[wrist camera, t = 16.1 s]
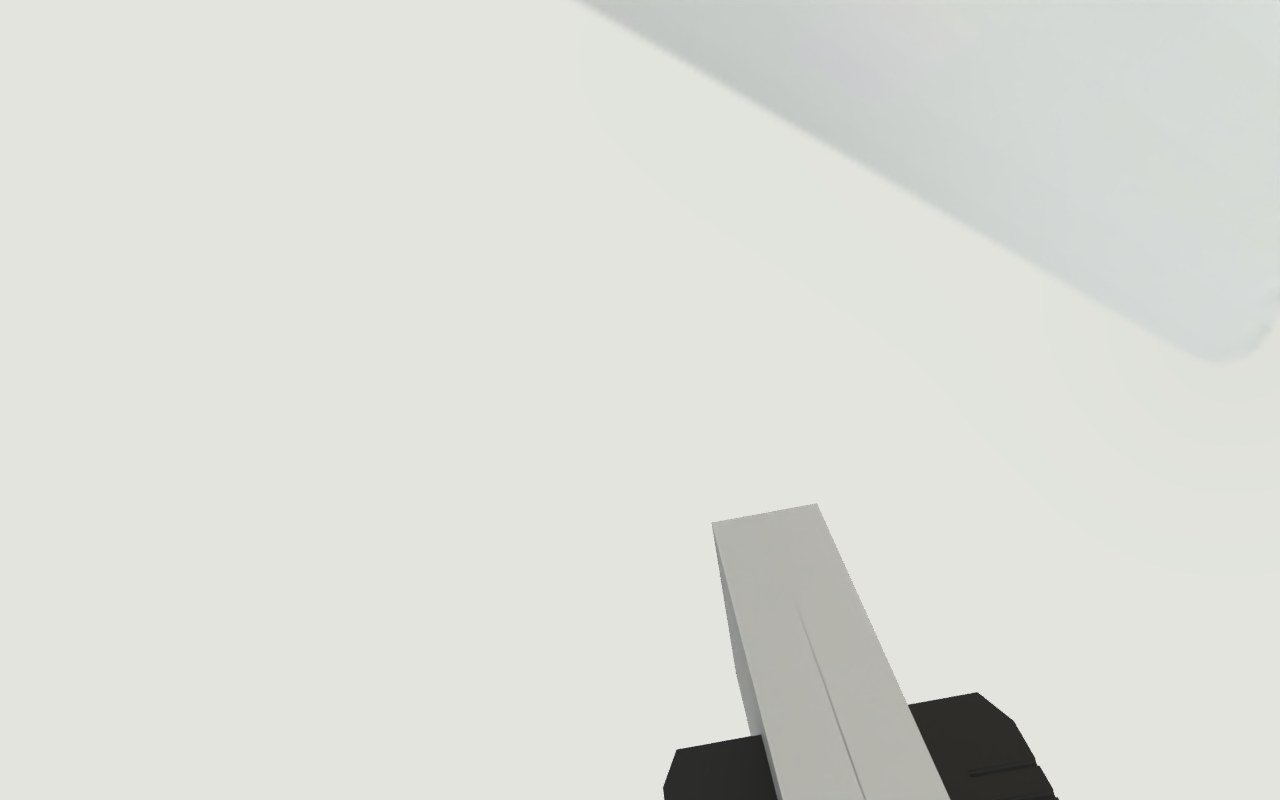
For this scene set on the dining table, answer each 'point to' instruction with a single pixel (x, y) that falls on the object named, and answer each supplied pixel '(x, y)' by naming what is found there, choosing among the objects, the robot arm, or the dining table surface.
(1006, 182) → the dining table surface
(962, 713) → the robot arm
